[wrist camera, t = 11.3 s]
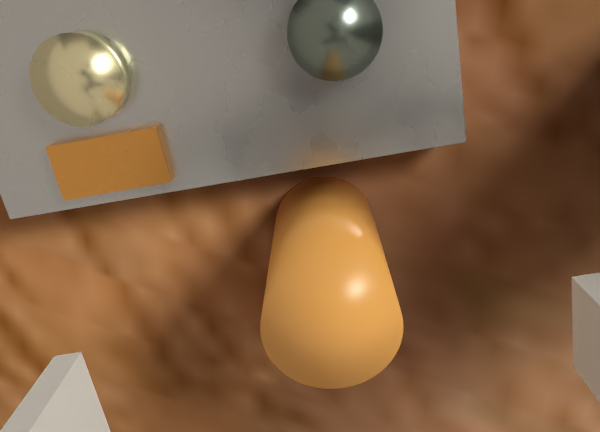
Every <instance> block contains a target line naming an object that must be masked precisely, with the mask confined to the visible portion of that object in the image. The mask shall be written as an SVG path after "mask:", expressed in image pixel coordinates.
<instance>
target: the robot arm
mask: <svg viewBox="0 0 600 432" xmlns="http://www.w3.org/2000/svg"><path fill="white" fill-rule="evenodd" d="M572 334H573V367H574V369H575V370H576V371H577V373H578V374H579V375H580V377H581V378H582V379H583V381H584V382H585V383H586V385H587V386H588V387H589V389H590V390H591V391H592V393H593V394H594V396H595V397H596V398H597V400H598V401H599V402H600V273H593V274H587V275H580V276H574V277H572ZM0 432H110V429H109V426H108V423H107V421H106V418H105V415H104V413H103V410H102V407H101V404H100V402H99V399H98V396H97V394H96V391H95V388H94V385H93V383H92V380H91V377H90V375H89V372H88V369H87V366H86V364H85V361H84V358H83V356H82V353H81V352H78V353H71V354H65V355H58V356H54V357H53V359H52V360H51V361H50V363H49V364H48V366H47V367H46V368H45V370H44V371H43V373H42V374H41V375H40V377H39V378H38V379H37V381H36V382H35V384H34V385H33V386H32V388H31V389H30V391H29V392H28V393H27V395H26V396H25V397H24V399H23V400H22V402H21V403H20V404H19V406H18V407H17V409H16V410H15V411H14V413H13V414H12V415H11V417H10V418H9V420H8V421H7V422H6V424H5V425H4V427H3V428H2V429H1V431H0Z"/></svg>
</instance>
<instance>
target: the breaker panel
mask: <svg viewBox="0 0 600 432" xmlns="http://www.w3.org/2000/svg"><path fill="white" fill-rule="evenodd" d="M462 142H466V133H465V120H464V108H463V95H462V82H461V69H460V56H459V43H458V30H457V18H456V5H455V0H0V195H1V197H2V200H3V202H4V205H5V207H6V210H7V213H8V215H9V218H10V219H15V218H21V217H27V216H33V215H39V214H45V213H51V212H56V211H62V210H68V209H74V208H80V207H86V206H92V205H98V204H103V203H109V202H115V201H121V200H127V199H133V198H139V197H145V196H151V195H156V194H162V193H168V192H174V191H180V190H186V189H192V188H198V187H203V186H209V185H215V184H221V183H227V182H233V181H239V180H245V179H251V178H256V177H262V176H268V175H274V174H280V173H286V172H292V171H298V170H303V169H309V168H315V167H321V166H327V165H333V164H339V163H345V162H351V161H356V160H362V159H368V158H374V157H380V156H386V155H392V154H398V153H403V152H409V151H415V150H421V149H427V148H433V147H439V146H445V145H451V144H456V143H462Z"/></svg>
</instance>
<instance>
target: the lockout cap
mask: <svg viewBox="0 0 600 432" xmlns="http://www.w3.org/2000/svg"><path fill="white" fill-rule="evenodd" d="M260 334H261V340H262V344H263V347H264V349H265V351H266V353H267V355H268V357H269V358H270V360H271V361H272V363H273V364H274V365H275V366H276V367H277V368H278V369H279V370H280V371H281V372H282V373H284V374H285V375H287V376H288V377H290V378H291V379H293V380H295V381H297V382H299V383H302V384H304V385H307V386H311V387H315V388H323V389H339V388H346V387H351V386H354V385H358V384H361V383H363V382H365V381H367V380H369V379H371V378H373V377H374V376H376V375H377V374H378V373H380V372H381V371H382V370H383V369H384V368H385V367H386V366H387V365H388V364H389V363H390V362H391V361H392V359H393V358H394V356H395V355H396V353H397V351H398V349H399V346H400V344H401V340H402V336H403V317H402V313H401V309H400V306H399V302H398V299H397V295H396V292H395V289H394V285H393V282H392V278H391V275H390V272H389V268H388V265H387V261H386V258H385V254H384V251H383V248H382V244H381V241H380V237H379V234H378V231H377V227H376V224H375V220H374V217H373V214H372V210H371V207H370V205H369V203H368V201H367V199H366V198H365V196H364V195H363V194H362V193H361V192H360V190H359V189H357V188H356V187H355V186H353V185H352V184H350V183H348V182H346V181H344V180H341V179H338V178H333V177H317V178H312V179H308V180H306V181H303V182H301V183H299V184H298V185H296V186H295V187H293V188H292V189H291V190H290V191H289V192H288V193H287V194H286V195H285V197H284V198H283V200H282V201H281V203H280V205H279V207H278V211H277V215H276V221H275V228H274V235H273V241H272V248H271V255H270V261H269V268H268V275H267V281H266V288H265V295H264V301H263V308H262V315H261V322H260Z"/></svg>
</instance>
